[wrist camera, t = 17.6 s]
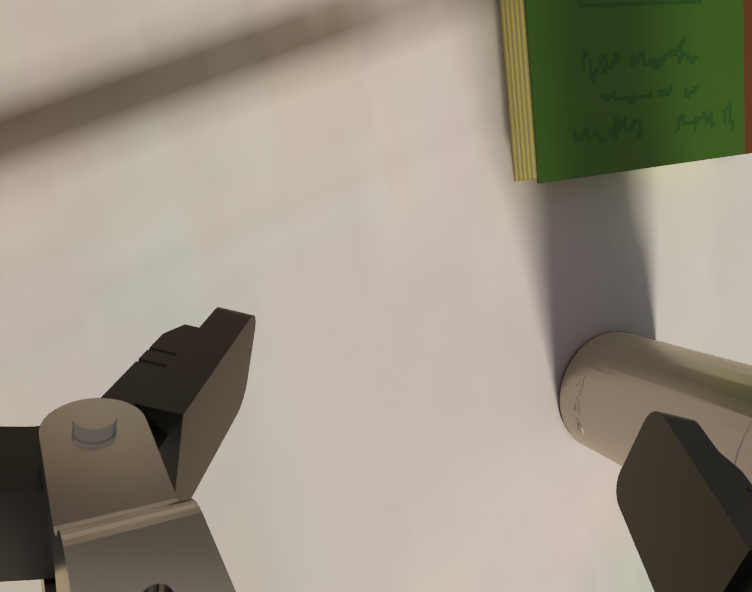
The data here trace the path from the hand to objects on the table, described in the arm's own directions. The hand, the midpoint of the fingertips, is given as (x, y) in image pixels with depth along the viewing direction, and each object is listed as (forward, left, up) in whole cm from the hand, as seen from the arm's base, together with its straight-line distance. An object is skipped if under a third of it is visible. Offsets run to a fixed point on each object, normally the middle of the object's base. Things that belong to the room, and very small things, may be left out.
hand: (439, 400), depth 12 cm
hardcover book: (-25, -19, -26) cm, 41 cm away
